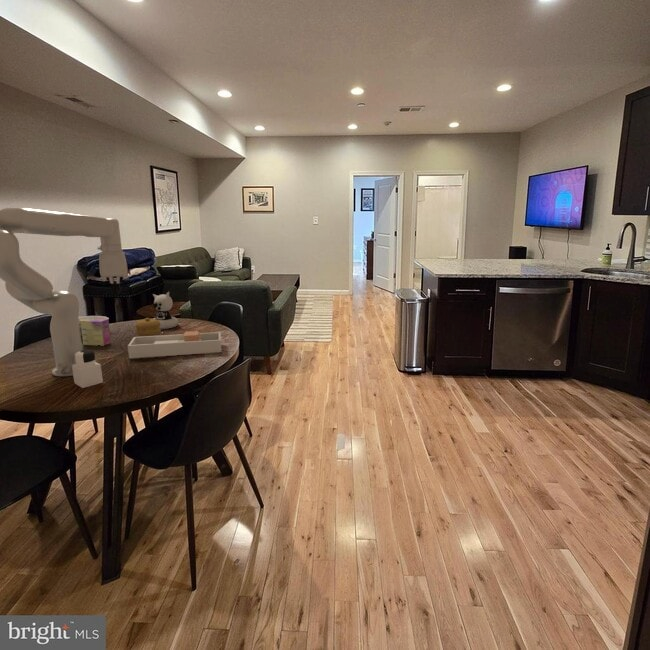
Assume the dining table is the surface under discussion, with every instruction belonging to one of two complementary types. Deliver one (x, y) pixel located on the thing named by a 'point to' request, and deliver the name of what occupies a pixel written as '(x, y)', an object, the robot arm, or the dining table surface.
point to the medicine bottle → (86, 369)
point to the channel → (173, 345)
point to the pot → (148, 327)
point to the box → (95, 331)
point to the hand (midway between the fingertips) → (116, 292)
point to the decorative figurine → (164, 311)
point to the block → (191, 336)
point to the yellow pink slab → (91, 318)
